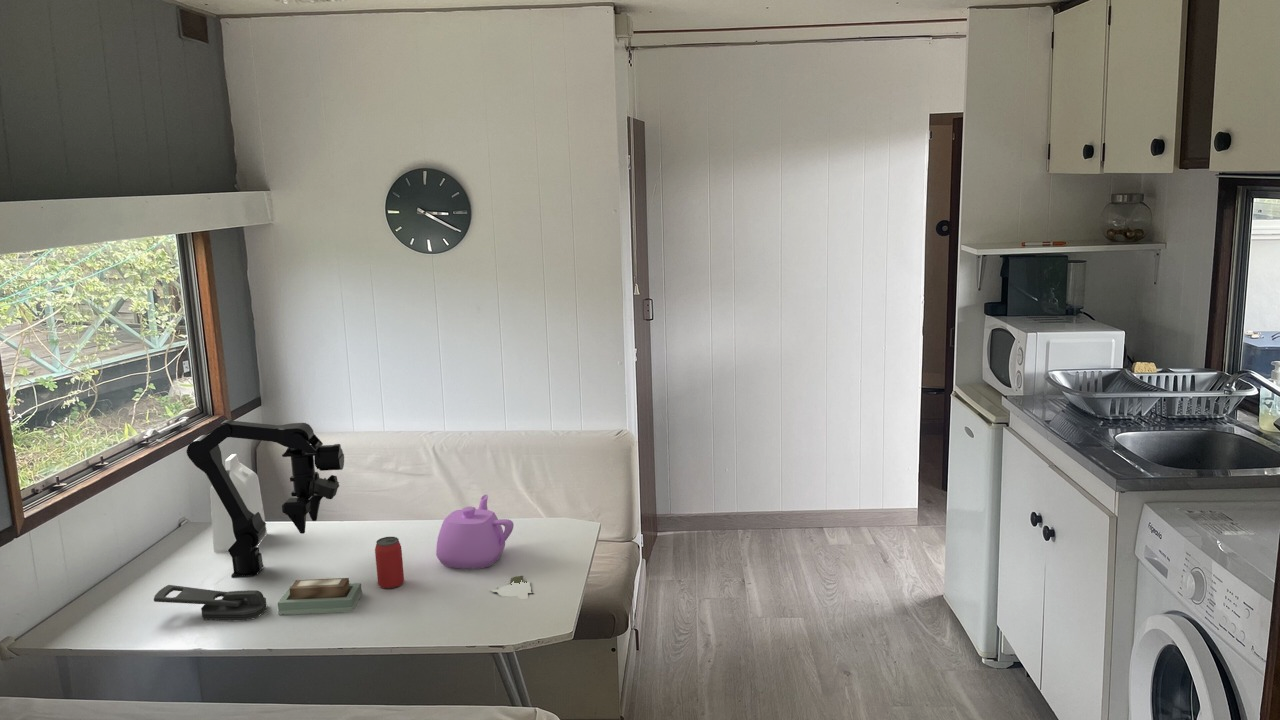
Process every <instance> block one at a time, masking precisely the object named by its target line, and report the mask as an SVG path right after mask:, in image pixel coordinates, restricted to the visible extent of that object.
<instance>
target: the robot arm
mask: <svg viewBox="0 0 1280 720" xmlns="http://www.w3.org/2000/svg"><path fill="white" fill-rule="evenodd" d="M314 432H315V431H314V430H313V428H312V426H311V425H310V424H309V423H306V422H293V423H287V424H277V425H276V424H267V423H259V422H250V421H241V420H239V421H238V420H234V419H226V420H224V421H223V422H221V423H220V424H219V425H218V426H217V428H215V429H214V430H213V431H211V432H210V433H208V434H202V435H199V436H198V437H197V438H196V439H194V440H193V441H192V442H190V443H189V444H188V446H187V448H186V450H185V451H186V456H187V457H188V459H189V460H190V461H191V462H192V464H193V465H194V466H195V467H196V468H198V469H199V470H200V471H201V472H203V473H204V474H205V475H206V477H207V479H208V480H209V482H210V484H211V486H213V487H214V489H215V491H216V493H217V495H218V496H219V498H220V500H221V502H222V503H223V505H224V507H225V509H226V510H227V512H228V514H229V516H230V517H231V520H232V526H233V533H234V536H235V538H236V542H235V543H234V544H233V545H232V546H231V547H230V548H229V549H228V551H227V552H228V554H229V555H230V557H231V560H232V561H231V562H232V569H233V573H231V575H230V576H231V577H232V578H233V577H234V578H235V577H238V578H239V577H240V578H241V577H255V575H256V576H257V575H258V574H259V573H260V571H262V569H263V568H264V566H265V565H264V564H263V556H262V555H263V554H262V553H261V552H260V547H259V545H260V544H259V541H260V540H261V539H262V538H263V537H264V535H265V532H266V530H267V527H266V528H265V525H266V526H267V523H266V521H265V522H264V521H263V520H262V518H261V515H260V513H259V512H257V513H256V514H253V513H252V512H250V511H249V510H248V509H247V507H246V505H245V503H244V502H243V500H242V498H241V496H240V494H239V493H238V491H237V489H236V487H235V486H234V484H233V482H232V480H231V478H230V477H229V475H228V473H227V471H226V470H225V466H224V464H223V458H222V456H223V455H222V451H221V448H220V445H219V444H221V443H222V442H224V441H225V440H226V439H227V438H231V439H232V438H233V439H245V440H251V441H252V440H253V441H263V442H272V443H277V444H278V445H281V446H283V447H285V448H287V449H286V450H285V451H284V452H283V453H282V454H281V457H283V458H290V462H291V474H292V475H291V476H290V477H289V482H292V484H293V491H291V494H290V495H291V497H290V498H288V499H287V500H286V501H285V502H284V503H283V504H282V505H281V509H282V513H283V514H284V515H286V516H288V518H289V519H290V520H291V522H292V523H293V524H294V526H295V527H296V529H297V530H298V533H300V534H303V535H304V534H305V533H306V528H307V527H306V526H307V525H306V523H307V514H308V515H309V516H310V519H311V521H312V522H316V521H317V520H318V516H319V509H320V506H321V505H320V504H321V500H322V499H323V498H325V499H326V500H333V499H334V497H336V495H337V493H338V490H339V489H338V488H339V487H340V484H339V483H340V482H339V481H338V476H337V475H333V474H331V475H330V476H329V477H328V478H326V477H324V478H322V477H320V473H319V472H318V471H316V470H319V471H320V472H321V471H323V472H325V471H342V470H343V469H344V466H345V454H344V451H343V449H342V447H341V446H342V445H341V444H340V443H334V444H327V445H326V444H325V445H324V443H323V442H322V441H321V440H320V438H318V436H317V435H316V434H315V433H314ZM315 468H316V469H315ZM264 538H265V537H264ZM258 544H259V545H258ZM257 545H258V547H256V546H257ZM258 572H259V573H258ZM257 573H258V574H257Z"/></svg>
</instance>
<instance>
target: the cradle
mask: <svg viewBox="0 0 1280 720" xmlns="http://www.w3.org/2000/svg"><path fill="white" fill-rule="evenodd" d="M291 586H292V585H290V586H289V587H288V589H287V590H286V591H285V593H284V594H283V595H282V596H281V597H280V599H279V601H277V615H278V614H279V615H278V616H280V615H281V616H282V614H284V615H286V614H287V615H303V614H307V615H308V614H325V613H326V614H327V613H329V614H330V613H349V612H350V613H351V612H353V610H354V609H355V607H356V605H357V603H358V602H359V600H360V598H361V597H362V595H363V590H362V589H363V588H362V583H361V582H352V583H350V582H349V587H350V592H349V594H348V595H347V597H339V598H316V599H294V600H291V599H290V590H289V589H290V587H291Z"/></svg>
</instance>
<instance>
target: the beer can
mask: <svg viewBox="0 0 1280 720" xmlns="http://www.w3.org/2000/svg"><path fill="white" fill-rule="evenodd" d="M375 543H376V544H375V547H374V556H375V566H376V577H377V579H376V580H377V585H378V587H379V588H381V589H386V590H388V589H389V590H390V589H395V588H398V587H401V586H402V585H403V584H404V582H405V576H404V561H403V552H402V545H401V543H400V541H399V538H398V537H397V536H384V537H381V538H378V539H377V540H376V541H375Z"/></svg>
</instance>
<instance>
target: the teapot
mask: <svg viewBox="0 0 1280 720" xmlns="http://www.w3.org/2000/svg"><path fill="white" fill-rule="evenodd" d="M488 498H489V495H488V494H483V495H482V496H481V498H480V500H479V505H478V508H476V507H475V506H465V507H463V508H461V509H457V510H454V511H451V512H450V513H449V514H448V515H447V516H446V517H445V518H444V520H443V521H442V524H441V526H440V528H439V533H438V536H437V540H436V549H435V550H436V551H435V553H436V557H437V559H438V561H439V563H440V564H441V565H442V566H445V567H448V568H455V569H477V568H480V569H484V568H487V567H490V566H492V565H494V564H495V563H496V562H497V561H498V560H499V559H500V557H501V555H502V554H503V553H504V550H505V547H506V541H507V540H508V538H509V537H510V535H511V533H512V532H513V530H514V521H513V520H511V519H509V518H508V519H507V518H506V519H505V518H501V519H498V517H497V515H496V513H495V512H494V511H493V510H489V509H488V500H489V499H488ZM502 526H503V527H504V529H503V527H502ZM483 567H484V568H483Z"/></svg>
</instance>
